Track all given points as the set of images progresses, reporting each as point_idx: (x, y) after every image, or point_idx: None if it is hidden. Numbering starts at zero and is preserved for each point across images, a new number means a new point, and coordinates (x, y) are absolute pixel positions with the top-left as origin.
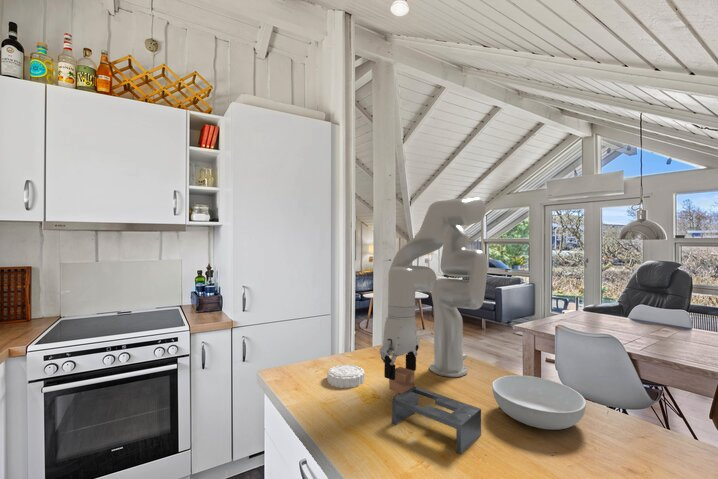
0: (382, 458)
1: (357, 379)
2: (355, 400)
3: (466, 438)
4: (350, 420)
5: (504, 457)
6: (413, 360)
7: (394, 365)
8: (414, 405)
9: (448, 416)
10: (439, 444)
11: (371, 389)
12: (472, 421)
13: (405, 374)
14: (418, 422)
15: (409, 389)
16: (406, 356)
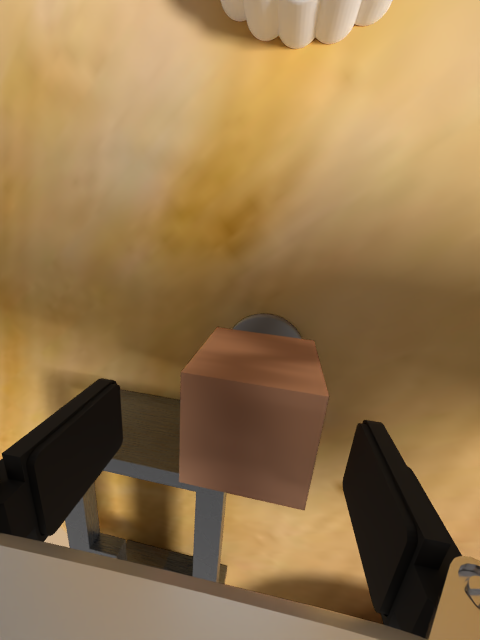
0: (3, 430)
1: (284, 9)
2: (147, 177)
3: None
4: (36, 271)
5: None
6: (368, 568)
7: (33, 539)
8: (78, 523)
9: None
10: (128, 509)
11: (294, 156)
12: None
13: (208, 481)
14: None
15: (176, 473)
16: (398, 530)
